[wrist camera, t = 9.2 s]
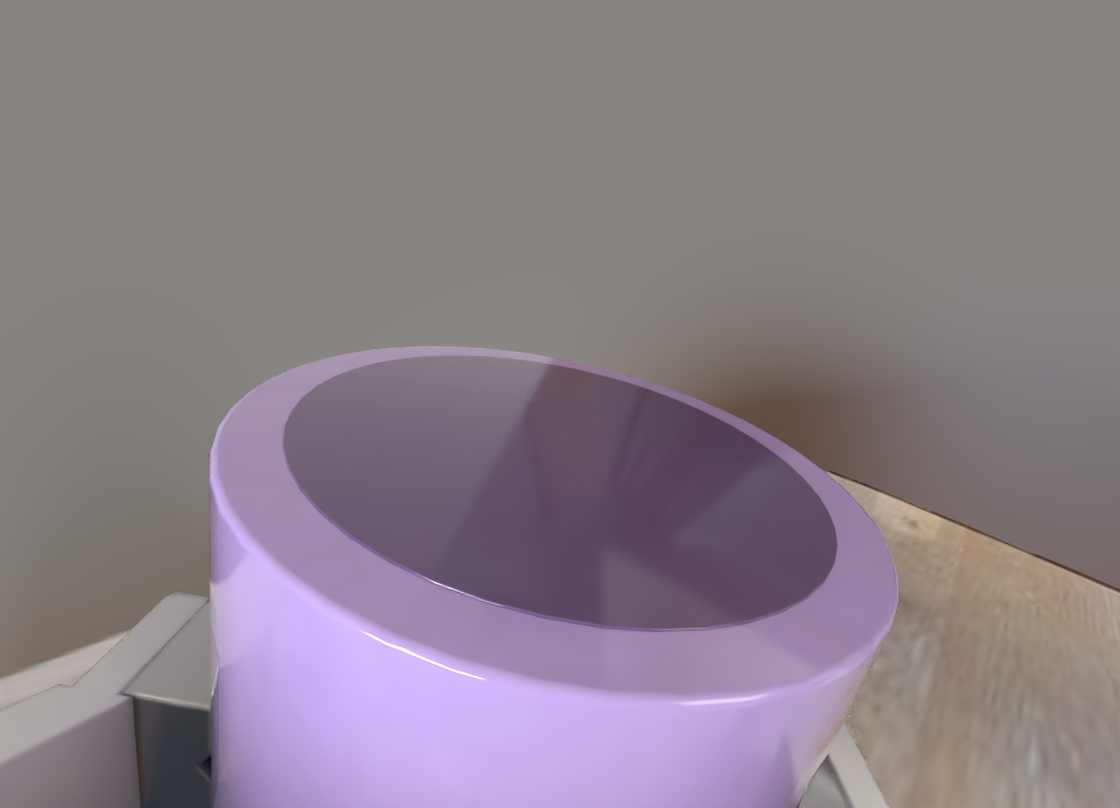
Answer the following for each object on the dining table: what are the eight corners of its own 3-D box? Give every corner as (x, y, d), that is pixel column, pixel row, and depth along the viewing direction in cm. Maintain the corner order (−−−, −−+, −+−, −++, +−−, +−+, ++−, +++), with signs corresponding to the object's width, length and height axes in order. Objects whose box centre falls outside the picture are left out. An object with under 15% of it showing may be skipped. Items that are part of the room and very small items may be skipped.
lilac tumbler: (489, 749, 13) (581, 340, 10) (704, 1052, 9) (988, 531, 6) (172, 941, 9) (142, 346, 6) (308, 1648, 5) (486, 1047, 2)
